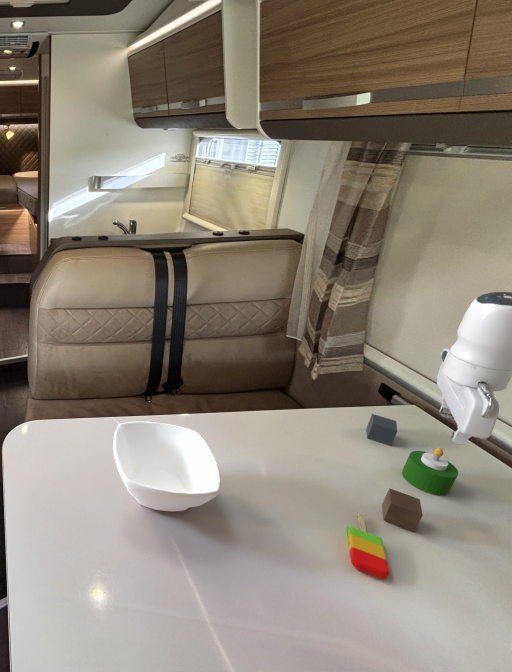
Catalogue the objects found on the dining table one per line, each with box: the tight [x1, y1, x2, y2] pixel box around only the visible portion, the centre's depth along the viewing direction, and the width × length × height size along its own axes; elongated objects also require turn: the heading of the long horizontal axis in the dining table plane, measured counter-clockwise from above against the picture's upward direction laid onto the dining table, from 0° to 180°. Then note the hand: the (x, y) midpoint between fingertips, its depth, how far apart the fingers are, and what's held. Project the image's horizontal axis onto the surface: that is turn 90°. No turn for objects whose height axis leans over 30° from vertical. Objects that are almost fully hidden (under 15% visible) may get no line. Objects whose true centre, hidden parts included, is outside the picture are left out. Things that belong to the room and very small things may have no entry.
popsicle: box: [346, 512, 390, 580], centre depth 86 cm, size 6×15×2 cm, turn 148°
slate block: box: [366, 413, 398, 447], centre depth 114 cm, size 5×5×5 cm
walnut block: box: [381, 488, 424, 533], centre depth 91 cm, size 5×5×5 cm
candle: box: [401, 447, 459, 497], centre depth 99 cm, size 8×8×10 cm
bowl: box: [112, 420, 222, 512], centre depth 97 cm, size 22×22×12 cm
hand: (451, 428), depth 88 cm, fingers open, 8 cm apart
